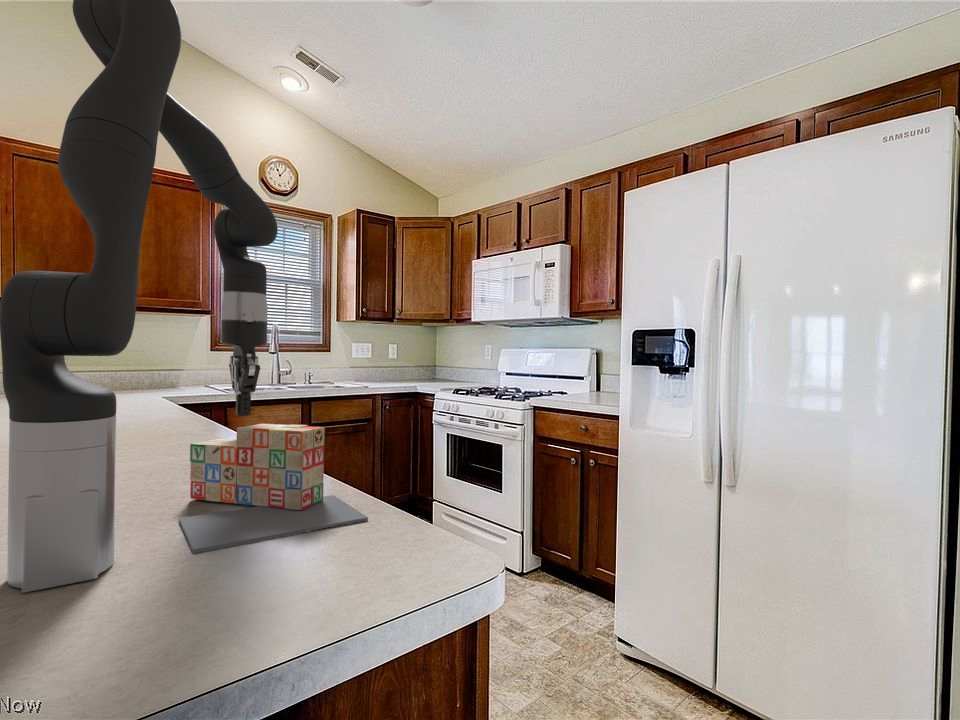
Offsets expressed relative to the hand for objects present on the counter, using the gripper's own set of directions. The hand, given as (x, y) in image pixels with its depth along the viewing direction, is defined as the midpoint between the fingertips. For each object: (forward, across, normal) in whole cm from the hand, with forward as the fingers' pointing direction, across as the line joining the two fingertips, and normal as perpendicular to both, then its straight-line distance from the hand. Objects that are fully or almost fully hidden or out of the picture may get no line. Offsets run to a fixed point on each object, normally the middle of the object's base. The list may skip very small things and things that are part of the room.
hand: (243, 415), depth 92 cm
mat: (+13, +21, 0) cm, 25 cm away
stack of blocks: (+13, +10, 0) cm, 17 cm away
